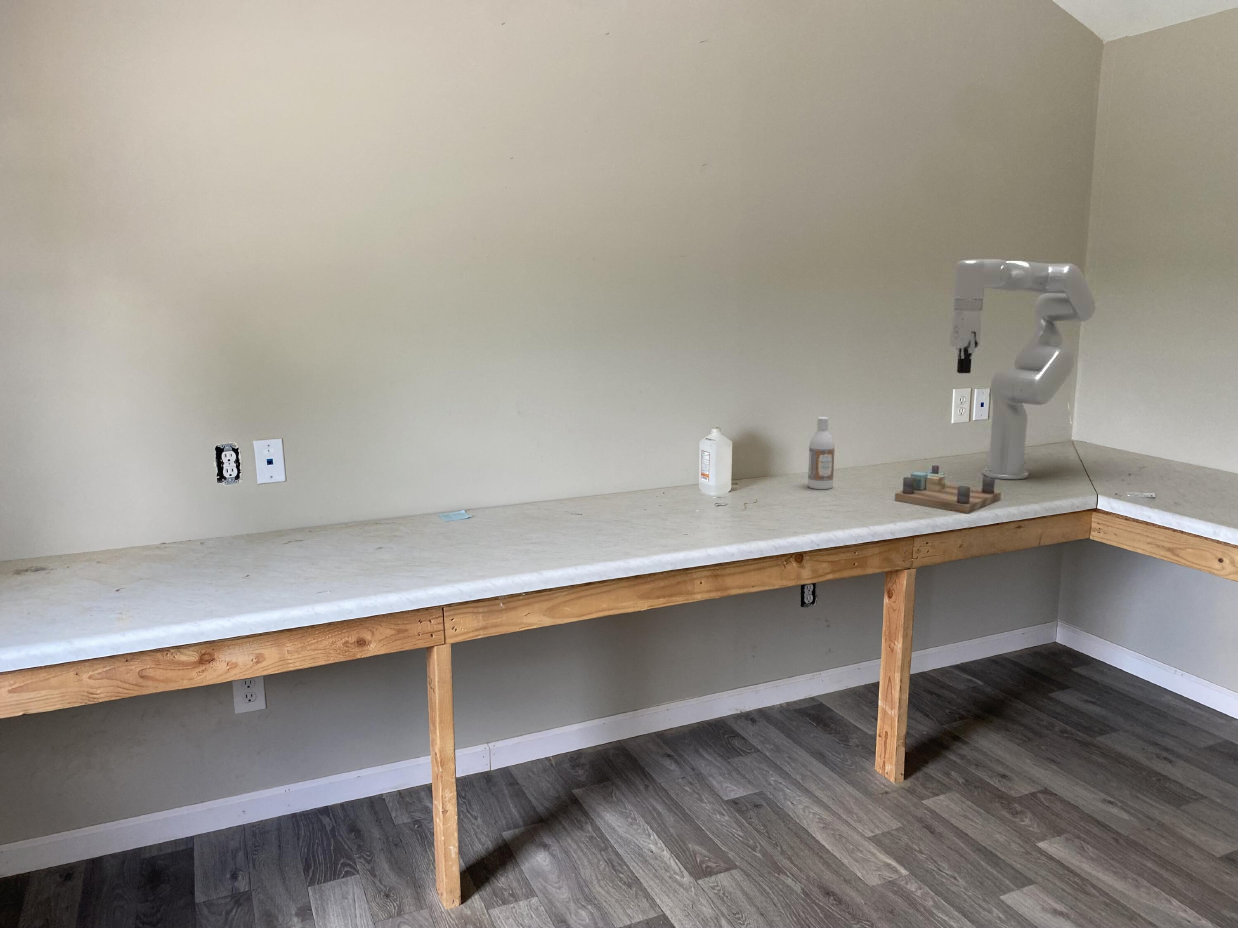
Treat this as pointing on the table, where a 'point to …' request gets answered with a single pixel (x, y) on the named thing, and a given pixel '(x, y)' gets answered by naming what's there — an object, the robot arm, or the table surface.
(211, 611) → the table surface
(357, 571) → the table surface
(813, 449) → the bath foam
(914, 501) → the stool seat
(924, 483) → the leg
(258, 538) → the table surface
